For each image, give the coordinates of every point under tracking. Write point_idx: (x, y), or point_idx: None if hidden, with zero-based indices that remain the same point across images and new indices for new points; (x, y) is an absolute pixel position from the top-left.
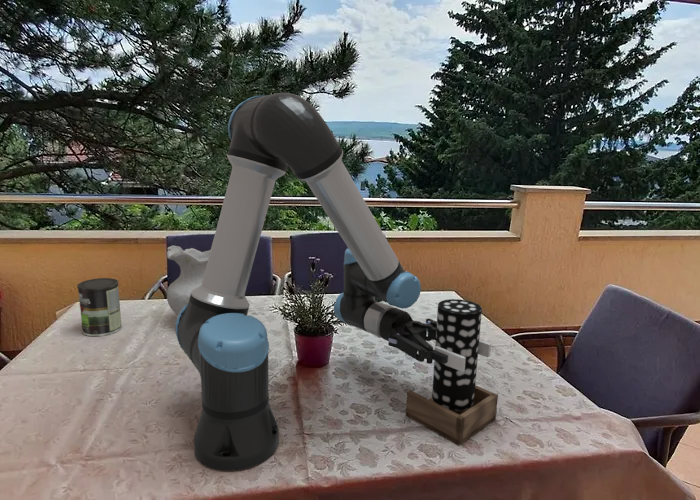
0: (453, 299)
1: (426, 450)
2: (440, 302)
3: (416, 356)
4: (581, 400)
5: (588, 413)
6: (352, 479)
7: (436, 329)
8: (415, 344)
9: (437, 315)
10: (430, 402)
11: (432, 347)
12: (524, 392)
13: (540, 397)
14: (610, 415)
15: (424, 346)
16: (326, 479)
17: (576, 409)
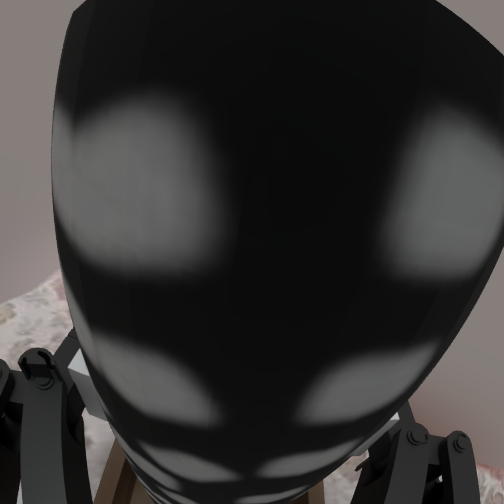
0: (87, 7)
1: (357, 462)
2: (487, 57)
3: (442, 482)
4: (24, 298)
5: (58, 293)
6: (477, 463)
7: (390, 418)
8: (461, 500)
9: (487, 278)
10: (318, 490)
11: (406, 429)
12: (15, 368)
13: (26, 345)
14: (56, 275)
15: (421, 475)
16: (499, 474)
17: (51, 304)
